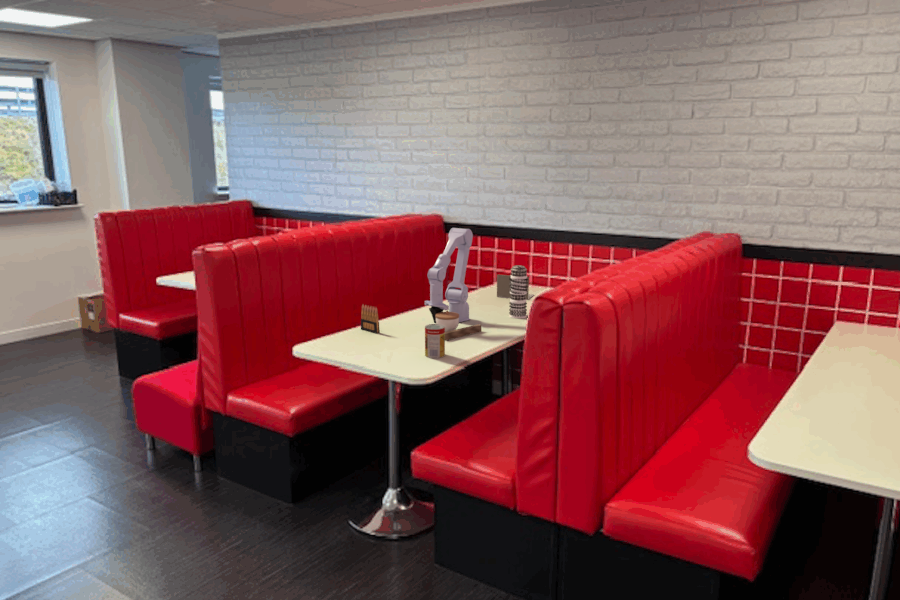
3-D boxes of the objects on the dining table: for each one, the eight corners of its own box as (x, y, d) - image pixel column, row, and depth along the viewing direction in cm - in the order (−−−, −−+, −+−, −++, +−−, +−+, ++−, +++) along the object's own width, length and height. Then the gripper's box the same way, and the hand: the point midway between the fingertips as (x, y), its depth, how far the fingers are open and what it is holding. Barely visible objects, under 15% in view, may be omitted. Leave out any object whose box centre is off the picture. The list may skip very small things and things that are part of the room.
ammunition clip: (379, 332, 308) (379, 306, 305) (376, 333, 306) (376, 307, 304) (363, 328, 315) (363, 303, 312) (360, 329, 313) (360, 303, 311)
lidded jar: (463, 330, 313) (463, 310, 310) (451, 335, 304) (451, 314, 302) (443, 326, 318) (443, 307, 316) (430, 332, 309) (430, 311, 307)
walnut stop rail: (478, 330, 312) (478, 324, 311) (481, 331, 310) (481, 325, 310) (441, 339, 297) (441, 332, 297) (445, 340, 296) (445, 333, 295)
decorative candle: (517, 319, 331) (518, 268, 326) (504, 315, 339) (505, 265, 333) (531, 316, 337) (532, 266, 331) (518, 313, 344) (519, 263, 338)
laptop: (534, 295, 384) (534, 272, 381) (528, 300, 373) (528, 276, 370) (503, 293, 391) (503, 270, 388) (496, 297, 379) (496, 274, 377)
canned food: (444, 352, 279) (444, 323, 277) (445, 358, 272) (445, 329, 269) (425, 352, 279) (424, 324, 276) (425, 358, 271) (424, 329, 269)
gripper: (419, 292, 315) (419, 321, 318) (440, 297, 305) (440, 327, 308) (431, 290, 320) (431, 318, 323) (452, 295, 309) (452, 324, 312)
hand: (436, 322), depth 316 cm, fingers closed
